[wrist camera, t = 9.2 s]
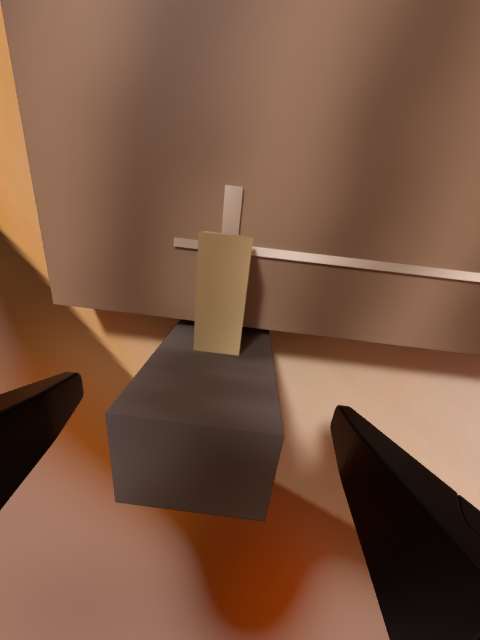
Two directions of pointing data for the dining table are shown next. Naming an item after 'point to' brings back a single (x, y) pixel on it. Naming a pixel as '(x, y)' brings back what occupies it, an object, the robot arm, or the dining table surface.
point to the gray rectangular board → (260, 157)
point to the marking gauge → (203, 403)
